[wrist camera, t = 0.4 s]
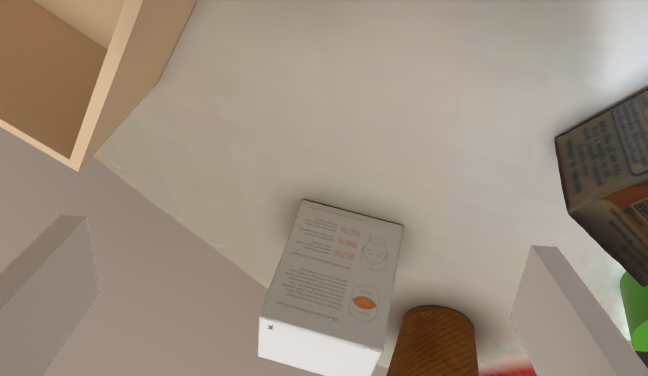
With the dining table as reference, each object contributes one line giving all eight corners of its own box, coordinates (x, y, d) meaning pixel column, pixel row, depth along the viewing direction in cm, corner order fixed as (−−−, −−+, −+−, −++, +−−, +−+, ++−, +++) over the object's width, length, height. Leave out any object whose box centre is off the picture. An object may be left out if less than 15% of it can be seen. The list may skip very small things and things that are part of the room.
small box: (296, 241, 41) (253, 356, 34) (302, 196, 37) (255, 316, 30) (389, 267, 40) (366, 390, 33) (406, 224, 36) (383, 354, 29)
